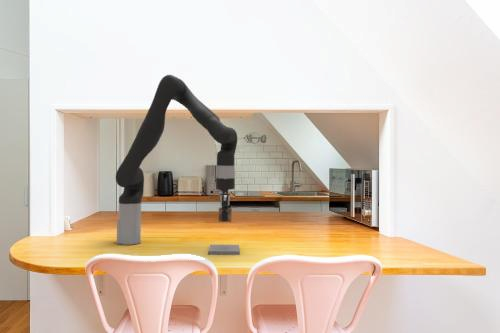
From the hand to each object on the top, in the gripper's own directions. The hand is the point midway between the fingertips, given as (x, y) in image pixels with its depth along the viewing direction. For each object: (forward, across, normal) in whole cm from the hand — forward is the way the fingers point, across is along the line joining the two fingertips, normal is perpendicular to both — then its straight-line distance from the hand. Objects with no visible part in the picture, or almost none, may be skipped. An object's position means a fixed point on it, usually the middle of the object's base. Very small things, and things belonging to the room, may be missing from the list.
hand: (224, 219), depth 154 cm
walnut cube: (0, 0, 0) cm, 0 cm away
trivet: (+12, 0, 0) cm, 12 cm away
